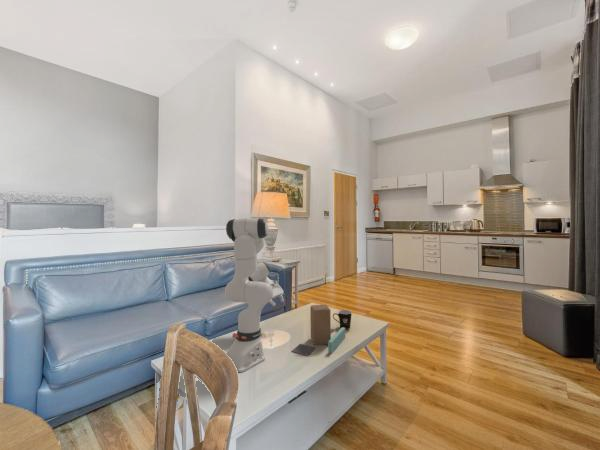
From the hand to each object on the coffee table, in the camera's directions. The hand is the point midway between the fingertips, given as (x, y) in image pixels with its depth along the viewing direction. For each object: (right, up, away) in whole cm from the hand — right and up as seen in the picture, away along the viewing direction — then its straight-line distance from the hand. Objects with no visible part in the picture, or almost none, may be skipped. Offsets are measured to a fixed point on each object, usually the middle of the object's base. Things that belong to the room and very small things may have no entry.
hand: (279, 303), depth 173 cm
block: (+25, -19, -13) cm, 34 cm away
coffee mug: (+42, -18, +9) cm, 46 cm away
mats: (+22, -18, -11) cm, 30 cm away
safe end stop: (+34, -18, -18) cm, 43 cm away
